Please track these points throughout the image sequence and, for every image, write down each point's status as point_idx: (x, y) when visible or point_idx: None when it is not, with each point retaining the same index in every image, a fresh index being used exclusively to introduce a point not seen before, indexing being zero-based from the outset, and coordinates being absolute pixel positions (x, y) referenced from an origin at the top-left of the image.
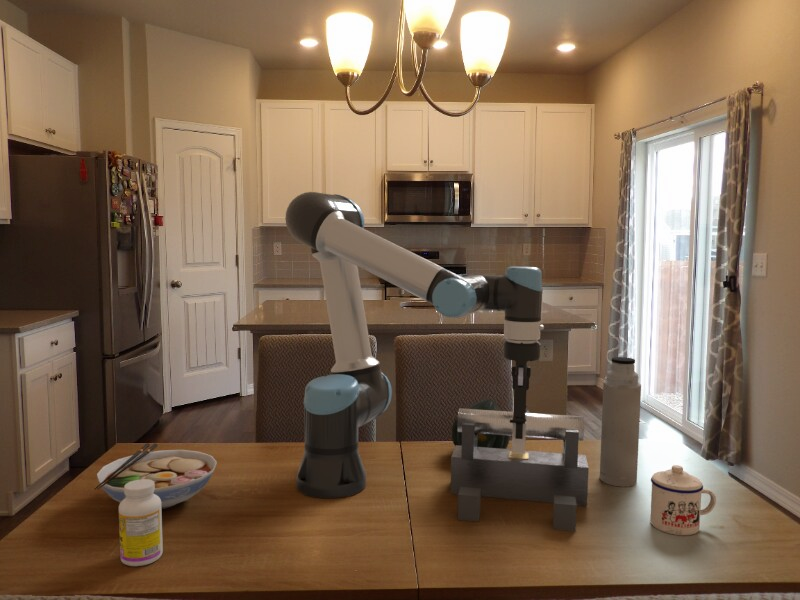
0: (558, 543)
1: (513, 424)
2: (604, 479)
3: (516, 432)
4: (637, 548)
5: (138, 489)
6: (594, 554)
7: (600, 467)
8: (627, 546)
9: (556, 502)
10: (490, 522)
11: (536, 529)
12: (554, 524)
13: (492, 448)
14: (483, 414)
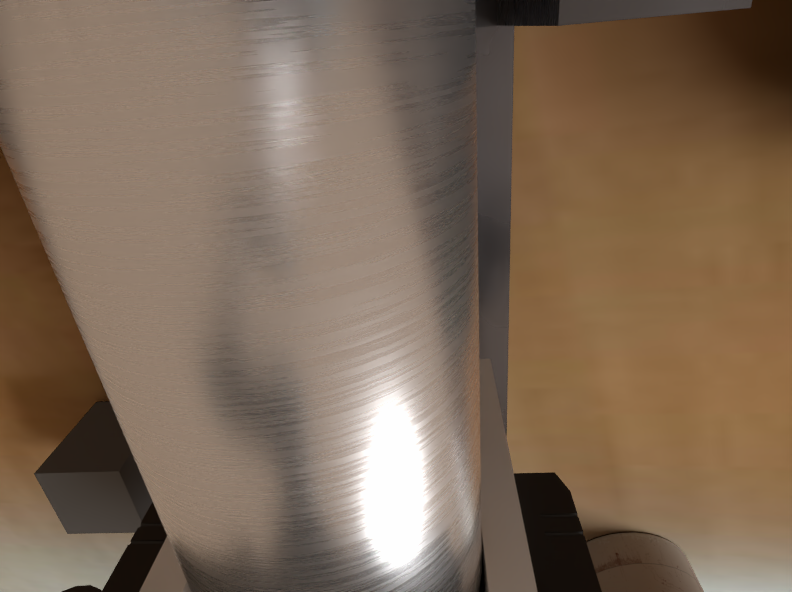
0: (4, 415)
1: (151, 582)
2: (590, 552)
3: (133, 543)
4: (109, 572)
5: None
6: (4, 493)
7: (637, 576)
8: (106, 556)
9: (48, 479)
10: (7, 186)
11: (60, 353)
12: (86, 415)
13: (499, 175)
14: (65, 273)
